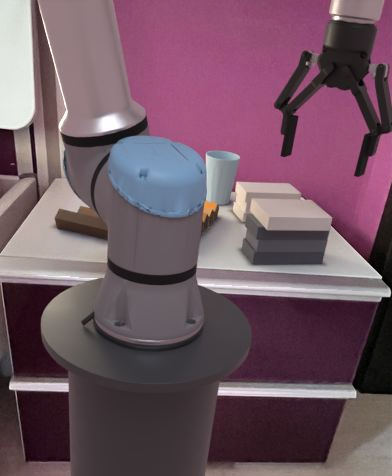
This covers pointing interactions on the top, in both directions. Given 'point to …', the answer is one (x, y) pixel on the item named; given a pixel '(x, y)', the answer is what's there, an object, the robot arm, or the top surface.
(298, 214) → the white book
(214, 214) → the pan flute
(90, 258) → the top surface
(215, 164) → the cup
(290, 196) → the white books
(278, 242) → the grey books
